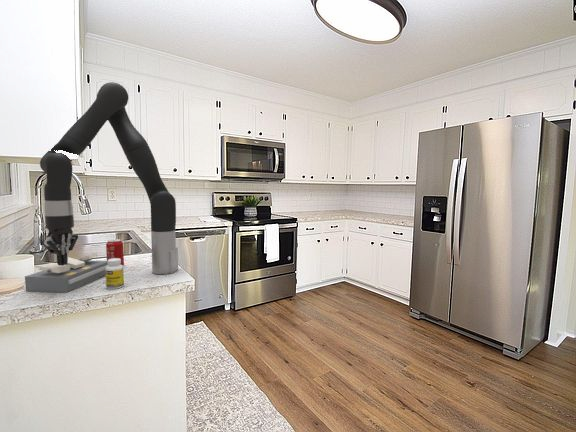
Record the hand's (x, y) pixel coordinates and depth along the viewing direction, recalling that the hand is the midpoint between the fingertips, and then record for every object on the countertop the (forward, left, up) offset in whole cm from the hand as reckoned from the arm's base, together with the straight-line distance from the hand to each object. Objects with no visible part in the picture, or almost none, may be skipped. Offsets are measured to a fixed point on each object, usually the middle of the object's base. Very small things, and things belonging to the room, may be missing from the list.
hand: (62, 264), depth 100 cm
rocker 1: (+3, 0, -3) cm, 4 cm away
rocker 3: (+3, -14, -3) cm, 15 cm away
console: (+3, -7, -8) cm, 11 cm away
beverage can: (-1, -26, -9) cm, 27 cm away
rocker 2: (+3, -7, -3) cm, 8 cm away
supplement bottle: (-16, -3, -9) cm, 18 cm away
